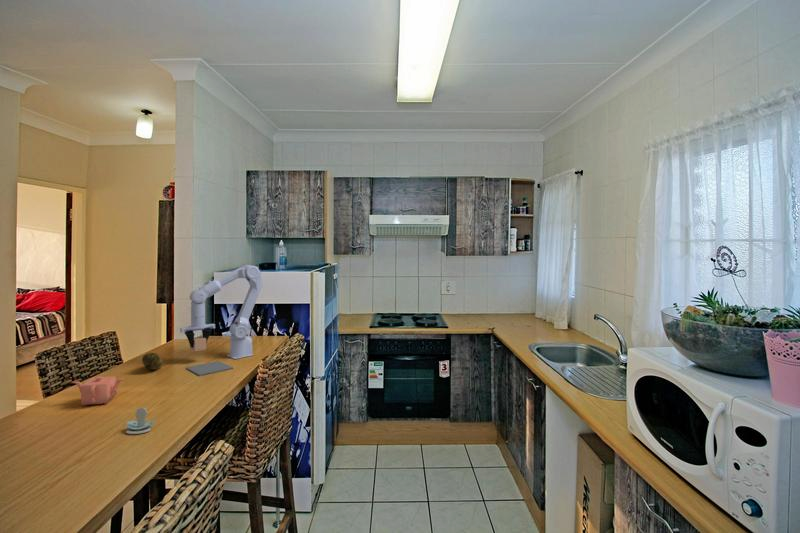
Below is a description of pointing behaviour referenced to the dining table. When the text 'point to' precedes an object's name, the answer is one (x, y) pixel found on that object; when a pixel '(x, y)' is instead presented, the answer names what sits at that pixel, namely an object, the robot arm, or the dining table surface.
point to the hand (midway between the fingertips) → (198, 346)
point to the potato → (152, 361)
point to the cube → (199, 344)
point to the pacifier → (139, 423)
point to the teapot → (98, 390)
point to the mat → (209, 368)
